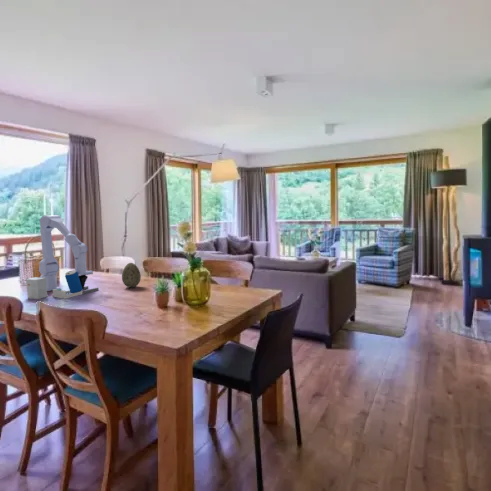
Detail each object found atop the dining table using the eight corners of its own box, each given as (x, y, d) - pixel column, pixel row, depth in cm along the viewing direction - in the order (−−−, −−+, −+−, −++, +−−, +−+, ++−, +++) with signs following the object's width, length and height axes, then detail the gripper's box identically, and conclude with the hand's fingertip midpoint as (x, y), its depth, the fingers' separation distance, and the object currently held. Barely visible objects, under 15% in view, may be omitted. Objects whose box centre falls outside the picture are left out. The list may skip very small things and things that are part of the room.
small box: (47, 296, 199) (46, 277, 198) (38, 299, 194) (37, 279, 192) (36, 295, 201) (35, 277, 200) (27, 298, 196) (25, 278, 195)
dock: (53, 296, 199) (52, 288, 199) (87, 288, 219) (86, 281, 218) (64, 298, 195) (64, 290, 194) (98, 290, 214) (98, 282, 214)
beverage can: (72, 290, 209) (66, 271, 205) (84, 288, 210) (78, 269, 206) (69, 295, 203) (62, 275, 199) (80, 293, 204) (74, 273, 200)
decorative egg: (133, 284, 228) (132, 261, 227) (144, 286, 222) (143, 262, 221) (118, 288, 219) (117, 263, 218) (130, 290, 213) (129, 264, 212)
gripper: (74, 267, 200) (75, 291, 201) (96, 263, 213) (97, 286, 214) (65, 266, 203) (67, 290, 205) (87, 263, 216) (88, 285, 217)
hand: (82, 288), depth 210 cm, fingers closed
